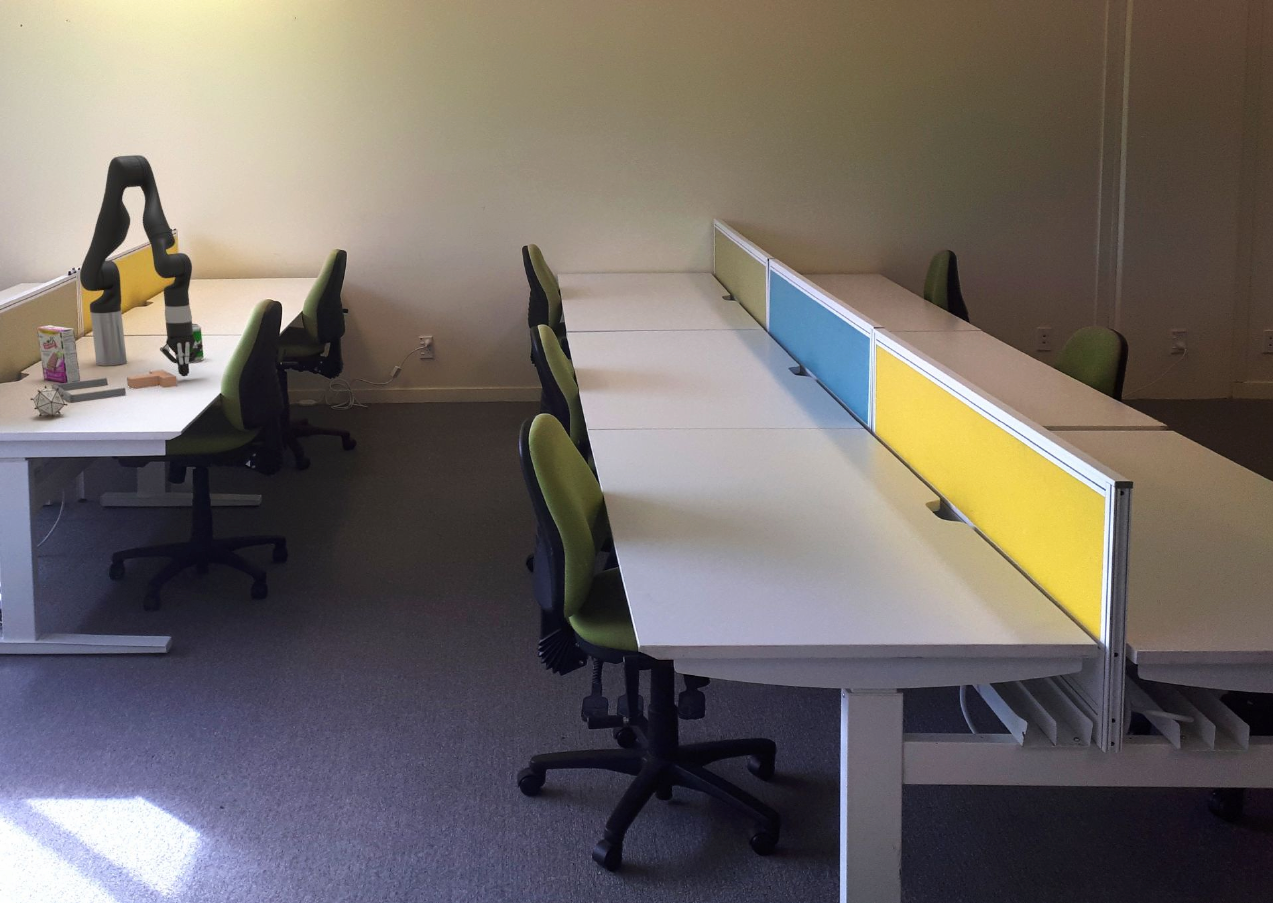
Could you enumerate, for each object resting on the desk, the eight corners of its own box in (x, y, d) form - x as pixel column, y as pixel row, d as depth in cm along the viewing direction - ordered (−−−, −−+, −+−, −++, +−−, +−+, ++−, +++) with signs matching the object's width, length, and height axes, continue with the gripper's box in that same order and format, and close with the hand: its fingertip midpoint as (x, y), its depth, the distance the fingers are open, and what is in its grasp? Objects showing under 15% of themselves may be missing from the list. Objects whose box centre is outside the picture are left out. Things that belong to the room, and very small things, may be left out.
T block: (123, 384, 369) (122, 374, 368) (163, 379, 376) (162, 369, 375) (136, 391, 360) (135, 381, 359) (177, 385, 367) (176, 376, 367)
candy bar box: (42, 380, 374) (35, 327, 369) (57, 377, 378) (50, 324, 374) (67, 384, 369) (60, 330, 364) (81, 380, 373) (74, 328, 369)
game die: (48, 428, 333) (40, 395, 336) (76, 417, 333) (68, 384, 335) (28, 419, 324) (20, 386, 327) (58, 408, 324) (50, 375, 327)
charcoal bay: (52, 391, 359) (51, 384, 359) (106, 384, 369) (105, 377, 368) (69, 402, 346) (69, 395, 345) (126, 395, 355) (125, 388, 355)
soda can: (196, 363, 399) (192, 327, 395) (175, 362, 400) (171, 326, 397) (208, 359, 406) (205, 323, 403) (187, 358, 407) (184, 322, 404)
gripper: (195, 316, 376) (200, 370, 381) (152, 320, 368) (158, 376, 373) (204, 319, 371) (209, 374, 376) (161, 323, 363) (166, 380, 367)
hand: (184, 375), depth 374 cm, fingers closed
